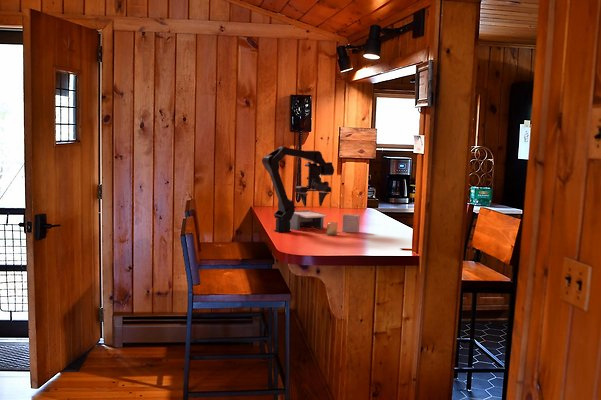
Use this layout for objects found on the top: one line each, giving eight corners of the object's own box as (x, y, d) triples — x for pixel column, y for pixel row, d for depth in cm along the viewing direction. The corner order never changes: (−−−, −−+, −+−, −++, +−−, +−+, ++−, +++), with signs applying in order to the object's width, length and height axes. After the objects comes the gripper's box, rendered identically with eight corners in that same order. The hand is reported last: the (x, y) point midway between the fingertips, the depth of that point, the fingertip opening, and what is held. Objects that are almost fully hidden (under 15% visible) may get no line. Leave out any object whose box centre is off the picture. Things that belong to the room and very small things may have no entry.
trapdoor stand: (297, 230, 334) (297, 214, 333) (282, 226, 347) (282, 211, 346) (323, 228, 342) (323, 213, 342) (307, 224, 355) (308, 210, 354)
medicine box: (359, 232, 337) (359, 215, 336) (357, 233, 333) (358, 216, 332) (343, 230, 339) (344, 214, 338) (342, 232, 335) (342, 215, 334)
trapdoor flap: (306, 225, 330) (306, 215, 329) (288, 221, 344) (288, 211, 344) (327, 224, 336) (327, 215, 336) (308, 220, 351) (309, 210, 350)
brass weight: (330, 235, 320) (331, 223, 320) (324, 234, 324) (325, 222, 324) (339, 235, 323) (339, 223, 322) (333, 234, 327) (333, 221, 327)
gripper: (306, 177, 322) (305, 208, 324) (338, 176, 332) (337, 207, 334) (295, 175, 332) (293, 206, 333) (325, 175, 342) (324, 205, 343)
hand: (312, 206), depth 336 cm, fingers open, 9 cm apart
